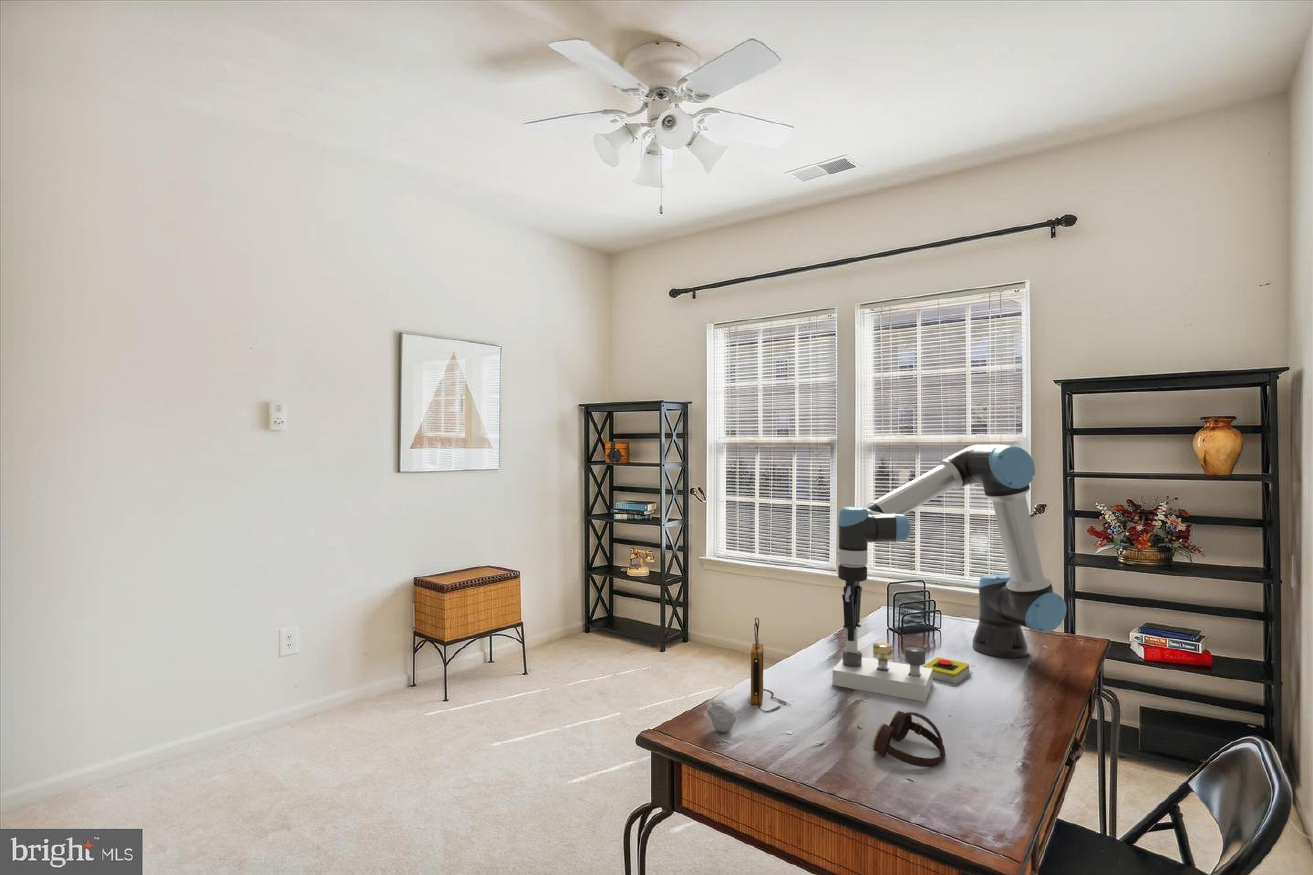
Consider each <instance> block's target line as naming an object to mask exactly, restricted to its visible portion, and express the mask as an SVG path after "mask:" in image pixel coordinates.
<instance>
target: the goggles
mask: <svg viewBox="0 0 1313 875" xmlns="http://www.w3.org/2000/svg"><path fill="white" fill-rule="evenodd" d="M913 716H914V717H916V718H919V719H921V720H923V721H924V722H926V723H927V724H928V725H929V727H931V728H932V729H933V731H934V732H932V731H930V730H929V729H928V728H926V727H925V726H923V724H921V723H920V722H914V721H913ZM910 731H912V732H913V734H916V735H918V736H920V735H921V736H922V737H924V738H925V739H927V740H928V741H929V742H931V743H932V744H933V745H934V746H935V747H936V748H937V750H938V751H939V756H936V757H932V758H931V757H930V758H929V757H921V756H916V755H913V754H909V753H907V752H904V751H902V750H900V749H897V748H896V747H893V746H892V745H891V741H892V739H893V740H894V741H896V742H897V743H899V742H901V741H902V740H904V739H905V738H906V737H907V735H908V733H909V732H910ZM934 733H935V734H934ZM872 751H873V752H876V754H878V755H880V757H882V758H886V756H885V755H889V756H890V757H892V758H894V759H896V760H898V761H900V762H902V763H905V764H908V765H911V766H916V767H920V768H934V767H937V766H939V765H940V764H942V763H943V762H944V760H945V758H946V748H945V744H944V742H943V738H942V735H941V732H940V731H939V729H938V727H937V726H936V724H934V722H933V721H932V720H931V719H929V718H928V717H926V716H924V715H923V714H921V713H917V712H915V711H912V712H911V711H907V712H904V711H901V710H899V709H898V710H896V711H895V713H894V714H893V716H892V718H891V720H890V722H889V725H888V724H886V723H885V722H883V723H882V724H880V726H879V727H878V729H877V731H876V733H875V735H874V738H873V741H872Z"/></svg>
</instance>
